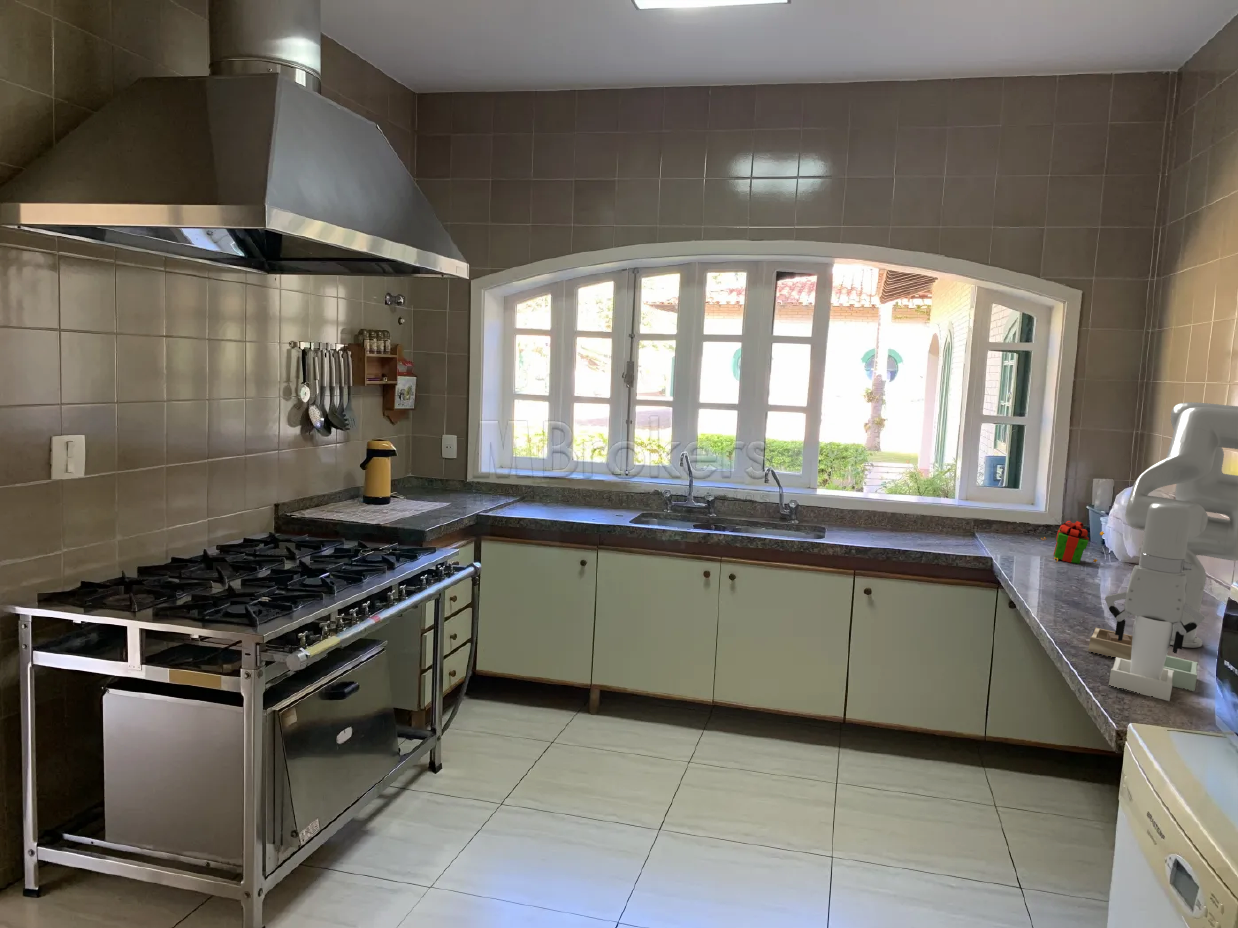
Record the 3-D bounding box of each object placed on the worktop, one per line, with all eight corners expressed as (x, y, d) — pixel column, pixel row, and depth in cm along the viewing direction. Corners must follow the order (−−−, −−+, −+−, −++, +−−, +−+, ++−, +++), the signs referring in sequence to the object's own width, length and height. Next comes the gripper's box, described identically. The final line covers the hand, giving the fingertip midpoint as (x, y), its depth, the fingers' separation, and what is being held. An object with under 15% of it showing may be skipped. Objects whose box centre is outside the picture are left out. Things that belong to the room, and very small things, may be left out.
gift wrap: (1096, 574, 288) (1108, 534, 284) (1036, 559, 295) (1047, 519, 292) (1093, 560, 305) (1105, 522, 302) (1036, 545, 313) (1047, 508, 309)
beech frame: (1092, 641, 205) (1095, 627, 205) (1144, 653, 199) (1146, 638, 199) (1088, 651, 197) (1090, 637, 196) (1141, 664, 191) (1144, 649, 190)
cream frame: (1113, 672, 184) (1115, 656, 183) (1171, 686, 178) (1174, 670, 177) (1108, 685, 175) (1111, 669, 175) (1169, 701, 169) (1172, 684, 169)
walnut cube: (1104, 648, 200) (1107, 632, 200) (1124, 652, 199) (1127, 635, 199) (1108, 653, 197) (1111, 637, 196) (1127, 657, 195) (1130, 640, 195)
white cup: (1165, 696, 172) (1178, 624, 170) (1127, 688, 174) (1139, 617, 172) (1158, 684, 178) (1170, 615, 176) (1121, 677, 181) (1133, 609, 179)
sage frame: (1138, 664, 190) (1140, 649, 190) (1195, 677, 185) (1197, 662, 184) (1134, 676, 182) (1137, 661, 182) (1194, 691, 176) (1197, 674, 176)
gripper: (1212, 570, 171) (1197, 652, 174) (1113, 552, 181) (1101, 630, 183) (1212, 576, 165) (1197, 661, 167) (1110, 558, 175) (1097, 638, 177)
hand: (1147, 645), depth 175 cm, fingers open, 9 cm apart
